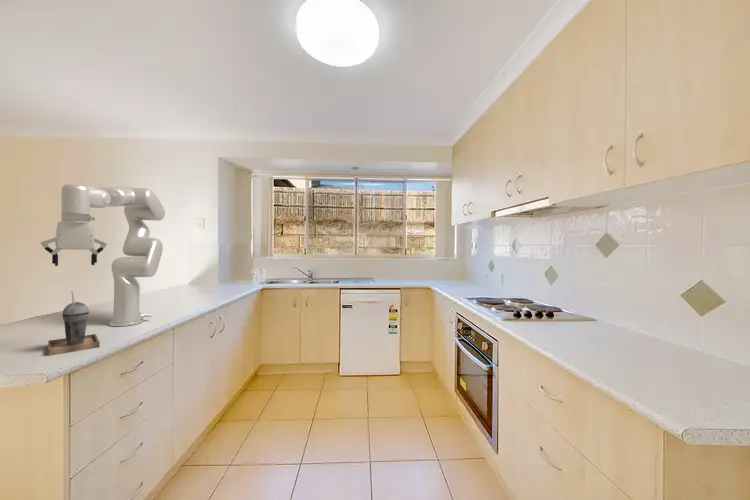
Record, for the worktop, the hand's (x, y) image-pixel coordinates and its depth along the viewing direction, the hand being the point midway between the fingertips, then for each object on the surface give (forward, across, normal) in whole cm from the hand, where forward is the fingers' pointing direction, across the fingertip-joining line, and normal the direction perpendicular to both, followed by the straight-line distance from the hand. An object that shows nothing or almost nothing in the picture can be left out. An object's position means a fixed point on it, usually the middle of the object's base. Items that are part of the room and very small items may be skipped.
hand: (75, 265), depth 113 cm
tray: (+30, 0, 0) cm, 30 cm away
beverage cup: (+30, 0, 0) cm, 30 cm away
